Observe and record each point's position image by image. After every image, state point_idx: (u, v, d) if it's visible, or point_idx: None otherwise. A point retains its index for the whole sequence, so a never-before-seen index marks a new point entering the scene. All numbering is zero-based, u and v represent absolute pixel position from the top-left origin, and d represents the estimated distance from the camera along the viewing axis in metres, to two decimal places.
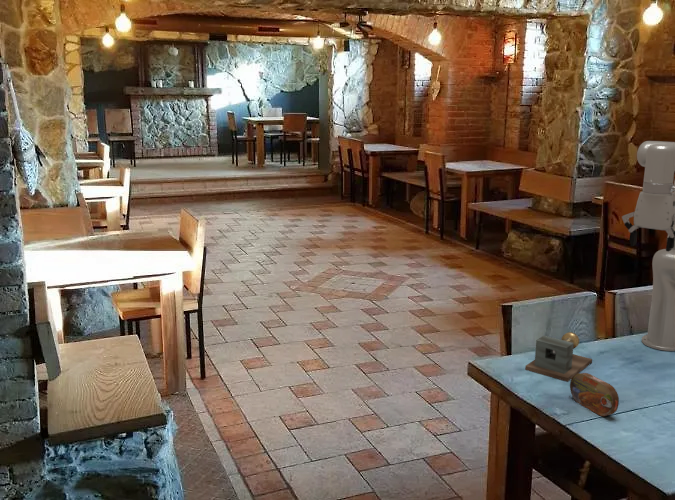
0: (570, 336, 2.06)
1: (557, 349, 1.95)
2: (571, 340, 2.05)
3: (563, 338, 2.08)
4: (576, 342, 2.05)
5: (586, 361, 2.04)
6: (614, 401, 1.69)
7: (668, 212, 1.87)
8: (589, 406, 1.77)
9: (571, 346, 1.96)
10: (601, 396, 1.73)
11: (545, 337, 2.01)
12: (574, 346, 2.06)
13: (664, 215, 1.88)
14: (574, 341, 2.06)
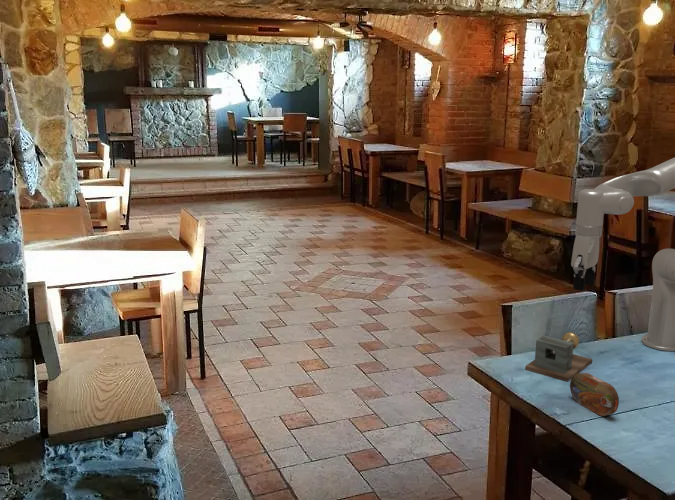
0: (570, 336, 2.06)
1: (557, 349, 1.95)
2: (571, 340, 2.05)
3: (563, 338, 2.08)
4: (576, 342, 2.05)
5: (586, 361, 2.04)
6: (614, 401, 1.69)
7: None
8: (589, 406, 1.77)
9: (571, 346, 1.96)
10: (601, 396, 1.73)
11: (545, 337, 2.01)
12: (574, 346, 2.06)
13: (598, 251, 2.07)
14: (574, 341, 2.06)
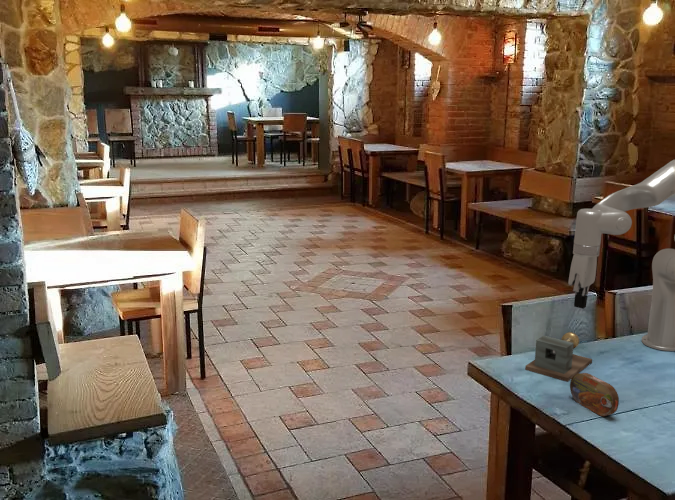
0: (570, 336, 2.06)
1: (557, 349, 1.95)
2: (571, 340, 2.05)
3: (563, 338, 2.08)
4: (576, 342, 2.05)
5: (586, 361, 2.04)
6: (614, 401, 1.69)
7: None
8: (589, 406, 1.77)
9: (571, 346, 1.96)
10: (601, 396, 1.73)
11: (545, 337, 2.01)
12: (574, 346, 2.06)
13: (595, 271, 2.08)
14: (574, 341, 2.06)
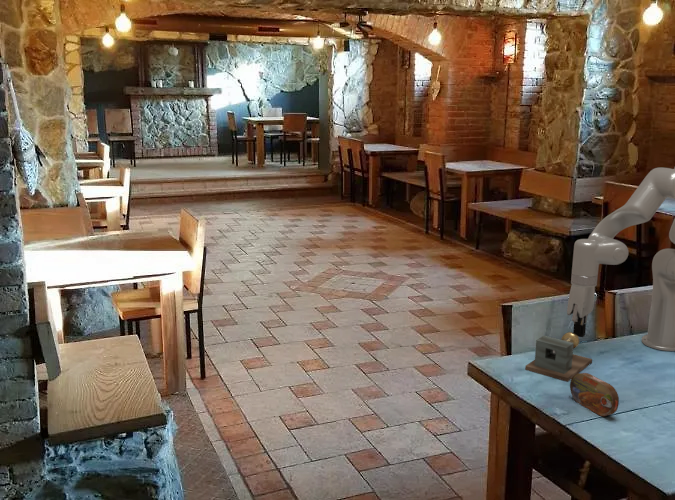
0: (570, 336, 2.06)
1: (557, 349, 1.95)
2: (571, 340, 2.05)
3: (563, 338, 2.08)
4: (576, 342, 2.05)
5: (586, 361, 2.04)
6: (614, 401, 1.69)
7: None
8: (589, 406, 1.77)
9: (571, 346, 1.96)
10: (601, 396, 1.73)
11: (545, 337, 2.01)
12: (574, 346, 2.06)
13: (593, 299, 2.10)
14: (574, 341, 2.06)
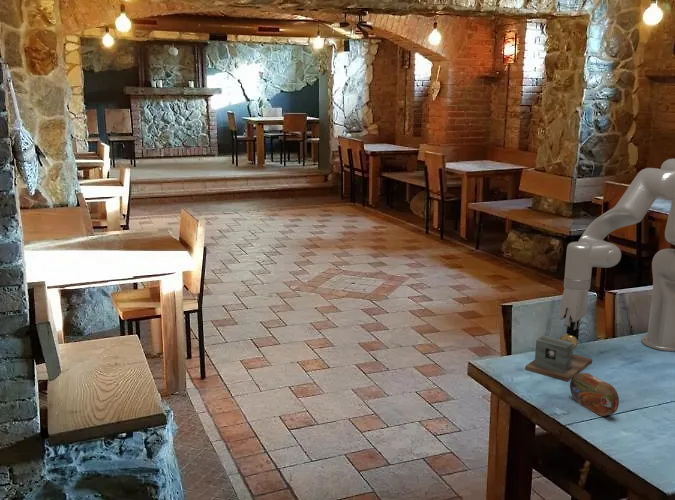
0: (568, 337, 2.05)
1: (557, 349, 1.95)
2: (569, 341, 2.04)
3: (561, 339, 2.07)
4: (574, 343, 2.04)
5: (586, 361, 2.04)
6: (614, 401, 1.69)
7: (587, 300, 2.07)
8: (589, 406, 1.77)
9: (571, 346, 1.96)
10: (601, 396, 1.73)
11: (545, 337, 2.01)
12: None
13: (586, 303, 2.07)
14: (572, 342, 2.04)
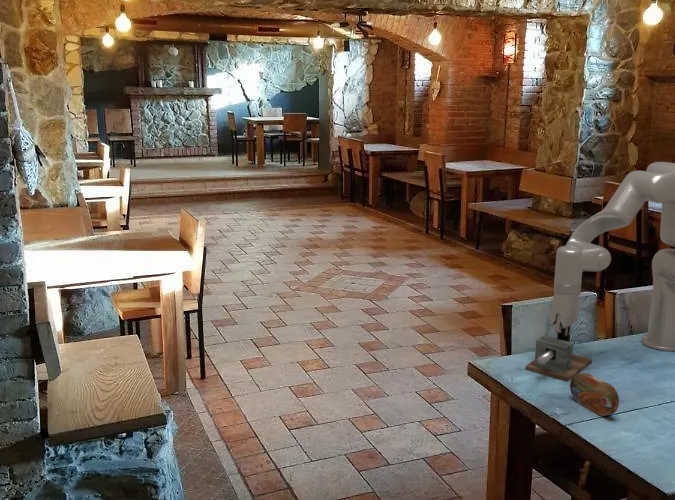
0: None
1: (557, 349, 1.95)
2: None
3: None
4: None
5: (586, 361, 2.04)
6: (614, 401, 1.69)
7: (578, 305, 2.02)
8: (589, 406, 1.77)
9: (571, 346, 1.96)
10: (601, 396, 1.73)
11: (545, 337, 2.01)
12: None
13: (577, 309, 2.02)
14: None
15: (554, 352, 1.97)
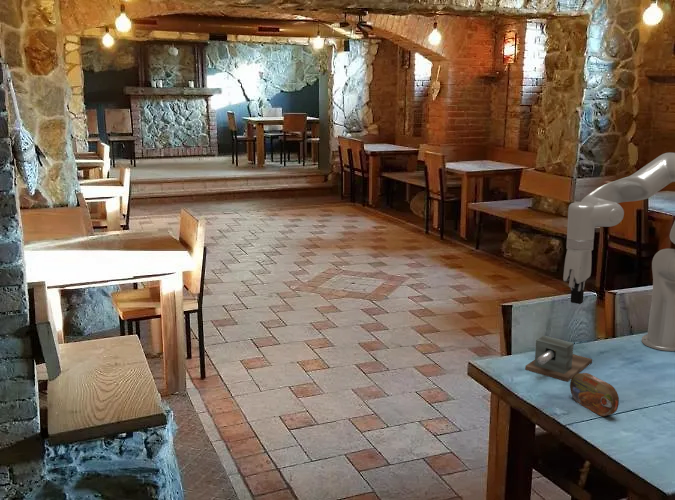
0: None
1: (557, 349, 1.95)
2: None
3: None
4: None
5: (586, 361, 2.04)
6: (614, 401, 1.69)
7: (591, 261, 2.04)
8: (589, 406, 1.77)
9: (571, 346, 1.96)
10: (601, 396, 1.73)
11: (545, 337, 2.01)
12: None
13: (590, 264, 2.03)
14: None
15: (554, 352, 1.97)
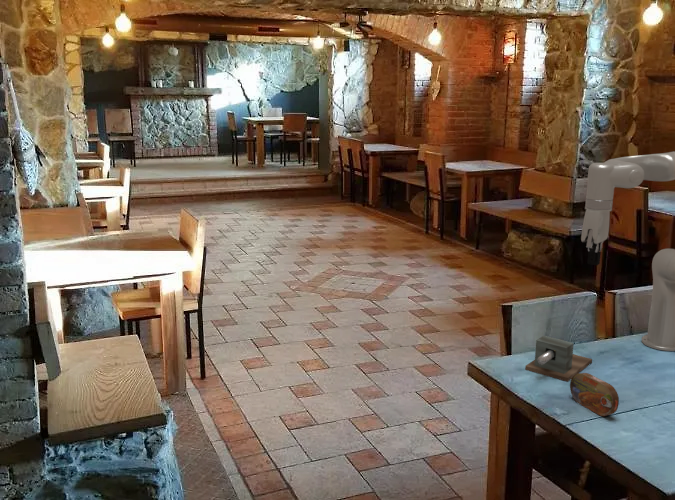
0: None
1: (557, 349, 1.95)
2: None
3: None
4: None
5: (586, 361, 2.04)
6: (614, 401, 1.69)
7: None
8: (589, 406, 1.77)
9: (571, 346, 1.96)
10: (601, 396, 1.73)
11: (545, 337, 2.01)
12: None
13: (608, 226, 2.04)
14: None
15: (554, 352, 1.97)
